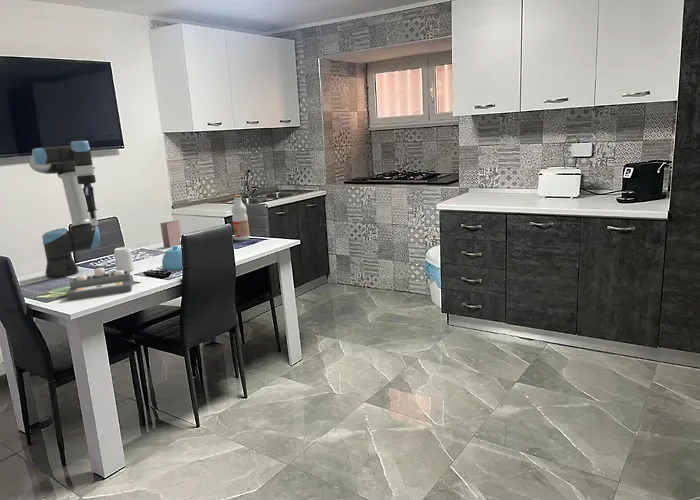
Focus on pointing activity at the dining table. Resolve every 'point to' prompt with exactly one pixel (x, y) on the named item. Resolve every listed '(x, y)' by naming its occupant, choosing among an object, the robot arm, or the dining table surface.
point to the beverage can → (123, 259)
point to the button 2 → (119, 272)
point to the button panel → (100, 285)
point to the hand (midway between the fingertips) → (94, 224)
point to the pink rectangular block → (171, 233)
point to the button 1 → (81, 278)
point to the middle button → (99, 272)
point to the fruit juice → (240, 219)
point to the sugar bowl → (172, 259)
